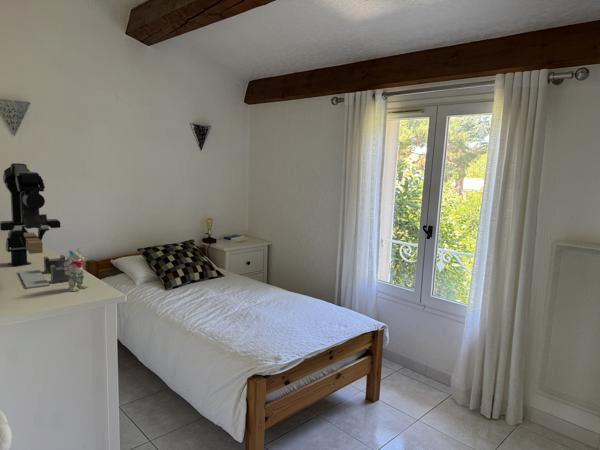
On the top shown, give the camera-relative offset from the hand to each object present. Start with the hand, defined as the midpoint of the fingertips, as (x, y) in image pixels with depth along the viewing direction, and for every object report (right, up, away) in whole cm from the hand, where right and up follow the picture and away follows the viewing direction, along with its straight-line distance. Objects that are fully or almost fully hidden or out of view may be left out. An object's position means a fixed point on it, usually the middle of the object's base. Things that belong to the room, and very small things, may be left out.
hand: (31, 246), depth 153 cm
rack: (+6, -12, +7) cm, 15 cm away
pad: (-1, -12, +2) cm, 13 cm away
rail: (0, 0, 0) cm, 0 cm away
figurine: (+21, -15, -7) cm, 27 cm away
